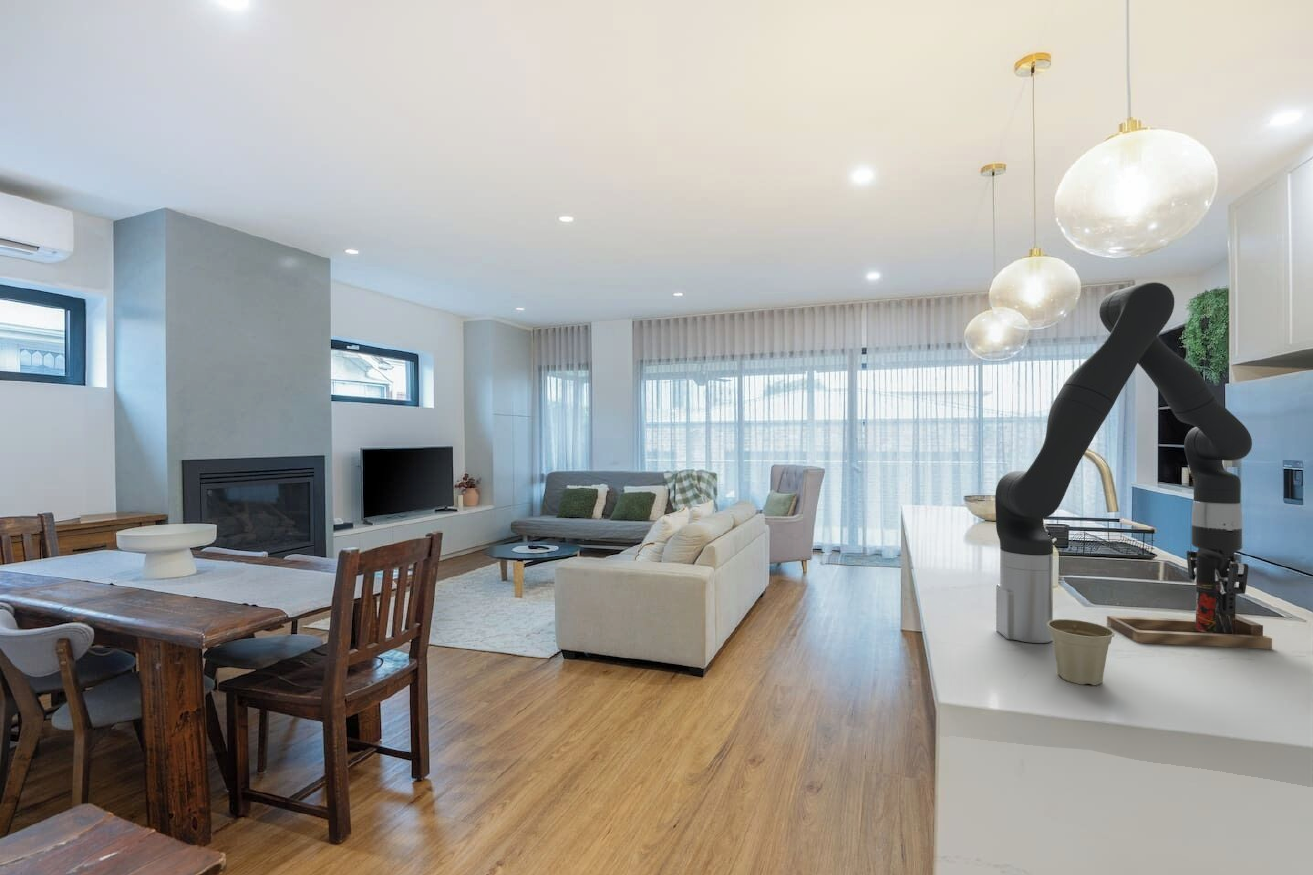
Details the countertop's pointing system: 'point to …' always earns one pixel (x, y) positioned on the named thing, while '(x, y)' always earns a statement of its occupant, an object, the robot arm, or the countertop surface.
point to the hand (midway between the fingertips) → (1215, 608)
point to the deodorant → (1211, 599)
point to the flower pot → (1080, 649)
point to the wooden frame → (1244, 636)
